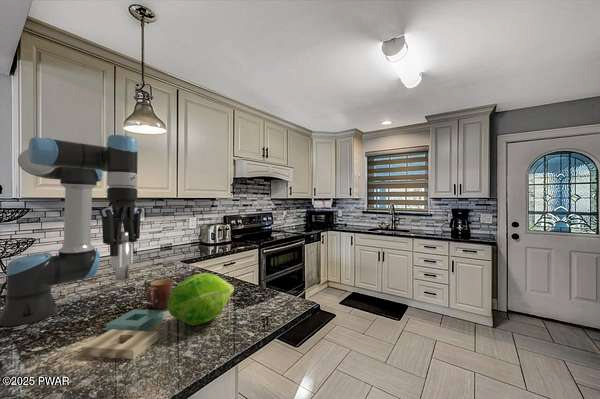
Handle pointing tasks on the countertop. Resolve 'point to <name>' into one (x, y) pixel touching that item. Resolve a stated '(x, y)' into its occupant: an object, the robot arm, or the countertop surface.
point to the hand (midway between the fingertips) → (122, 265)
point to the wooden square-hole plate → (112, 348)
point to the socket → (136, 320)
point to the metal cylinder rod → (124, 258)
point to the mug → (160, 293)
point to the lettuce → (199, 298)
